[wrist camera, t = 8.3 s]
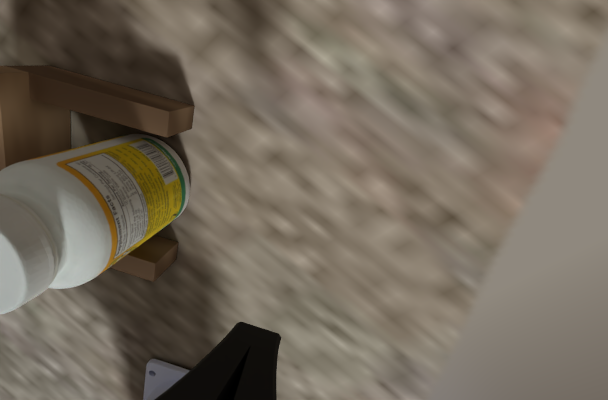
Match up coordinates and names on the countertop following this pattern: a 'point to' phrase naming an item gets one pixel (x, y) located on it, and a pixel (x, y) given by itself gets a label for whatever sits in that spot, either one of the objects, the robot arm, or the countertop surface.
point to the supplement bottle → (83, 212)
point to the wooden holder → (57, 131)
